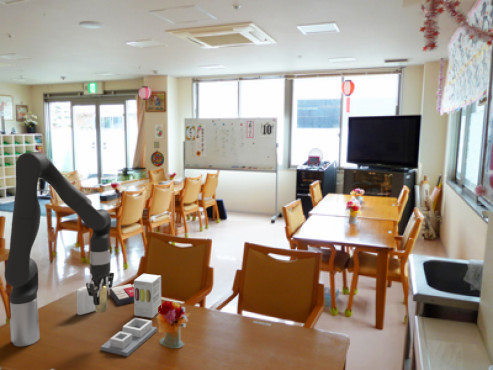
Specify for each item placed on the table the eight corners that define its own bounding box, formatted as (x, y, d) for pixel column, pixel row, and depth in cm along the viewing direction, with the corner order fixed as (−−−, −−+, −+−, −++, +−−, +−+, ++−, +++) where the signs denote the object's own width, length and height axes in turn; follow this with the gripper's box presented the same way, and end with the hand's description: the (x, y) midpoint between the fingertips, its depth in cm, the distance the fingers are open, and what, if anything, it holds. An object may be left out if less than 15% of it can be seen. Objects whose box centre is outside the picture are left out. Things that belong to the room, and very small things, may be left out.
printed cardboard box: (118, 299, 185) (109, 287, 197) (118, 307, 185) (109, 294, 197) (140, 293, 191) (131, 282, 203) (141, 302, 192) (131, 290, 204)
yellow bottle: (92, 311, 153) (92, 282, 151) (100, 306, 157) (99, 278, 155) (102, 313, 151) (101, 284, 150) (109, 308, 155) (108, 280, 154)
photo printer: (97, 306, 184) (96, 281, 182) (101, 309, 181) (100, 284, 179) (75, 313, 177) (74, 287, 175) (79, 316, 174) (78, 290, 172)
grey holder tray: (101, 350, 147) (100, 339, 147) (132, 325, 166) (132, 315, 166) (127, 356, 144) (127, 345, 143) (157, 330, 162) (156, 320, 162)
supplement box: (133, 315, 175) (132, 280, 173) (143, 306, 184) (142, 273, 182) (153, 318, 173) (152, 282, 171) (162, 309, 182) (161, 275, 180)
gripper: (104, 254, 159) (105, 293, 161) (79, 265, 146) (80, 308, 148) (119, 256, 157) (120, 296, 159) (95, 268, 143) (96, 311, 146)
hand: (101, 302), depth 153 cm, fingers closed on yellow bottle, 4 cm apart
